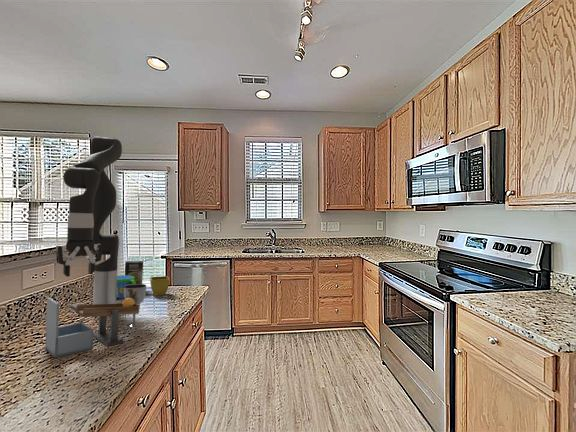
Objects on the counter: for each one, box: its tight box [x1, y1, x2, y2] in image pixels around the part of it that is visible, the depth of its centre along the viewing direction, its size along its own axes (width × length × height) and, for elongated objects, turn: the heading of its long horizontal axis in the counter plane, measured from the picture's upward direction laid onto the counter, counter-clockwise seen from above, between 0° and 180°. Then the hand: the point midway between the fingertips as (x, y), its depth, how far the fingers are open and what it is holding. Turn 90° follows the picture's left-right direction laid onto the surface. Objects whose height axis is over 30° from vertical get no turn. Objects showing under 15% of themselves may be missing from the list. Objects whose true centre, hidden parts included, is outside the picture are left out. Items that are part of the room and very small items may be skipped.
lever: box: [69, 302, 141, 318], centre depth 117 cm, size 14×18×3 cm
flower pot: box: [149, 275, 170, 297], centre depth 177 cm, size 9×9×9 cm
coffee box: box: [124, 260, 144, 284], centre depth 184 cm, size 9×6×16 cm
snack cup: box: [116, 274, 136, 299], centre depth 170 cm, size 16×10×10 cm
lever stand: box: [93, 303, 125, 347], centre depth 115 cm, size 13×5×11 cm, turn 49°
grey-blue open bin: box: [44, 297, 94, 359], centre depth 106 cm, size 10×10×16 cm
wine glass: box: [123, 283, 147, 329], centre depth 130 cm, size 8×8×15 cm
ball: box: [121, 298, 135, 307], centre depth 120 cm, size 4×4×4 cm
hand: (79, 274), depth 115 cm, fingers open, 6 cm apart
